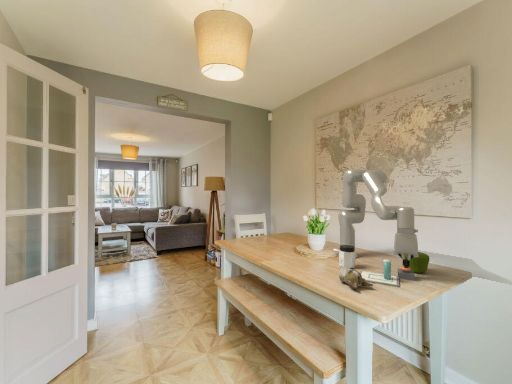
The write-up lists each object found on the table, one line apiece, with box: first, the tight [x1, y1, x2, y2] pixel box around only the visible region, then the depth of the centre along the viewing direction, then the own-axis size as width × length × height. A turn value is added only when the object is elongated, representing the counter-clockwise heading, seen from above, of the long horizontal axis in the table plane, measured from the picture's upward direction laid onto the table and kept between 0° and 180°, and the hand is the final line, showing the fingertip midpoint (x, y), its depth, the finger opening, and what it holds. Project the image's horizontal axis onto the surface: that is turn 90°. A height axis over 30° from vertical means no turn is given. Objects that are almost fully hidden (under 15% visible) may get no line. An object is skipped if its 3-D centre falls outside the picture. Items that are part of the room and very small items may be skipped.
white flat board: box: [359, 270, 400, 288], centre depth 121 cm, size 18×15×1 cm
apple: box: [404, 251, 430, 274], centre depth 132 cm, size 12×12×11 cm
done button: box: [400, 265, 411, 273], centre depth 123 cm, size 4×4×4 cm
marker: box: [382, 258, 392, 280], centre depth 119 cm, size 3×3×9 cm
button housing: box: [397, 268, 415, 282], centre depth 123 cm, size 7×7×3 cm
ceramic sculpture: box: [338, 266, 374, 290], centre depth 112 cm, size 11×9×15 cm
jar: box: [338, 244, 356, 269], centre depth 141 cm, size 9×8×12 cm
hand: (406, 267), depth 123 cm, fingers closed
